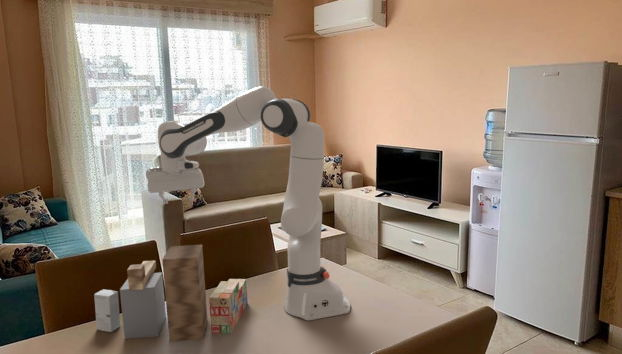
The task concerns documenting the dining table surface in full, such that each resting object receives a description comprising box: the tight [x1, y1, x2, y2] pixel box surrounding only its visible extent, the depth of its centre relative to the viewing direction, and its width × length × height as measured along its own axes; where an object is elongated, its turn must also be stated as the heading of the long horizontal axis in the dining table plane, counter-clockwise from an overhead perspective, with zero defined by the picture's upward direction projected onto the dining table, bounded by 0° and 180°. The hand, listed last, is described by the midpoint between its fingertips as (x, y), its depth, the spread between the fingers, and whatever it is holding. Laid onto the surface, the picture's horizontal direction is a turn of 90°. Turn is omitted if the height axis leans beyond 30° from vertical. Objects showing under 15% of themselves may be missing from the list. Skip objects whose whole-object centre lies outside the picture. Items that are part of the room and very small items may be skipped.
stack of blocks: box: [208, 278, 248, 335], centre depth 147 cm, size 21×6×12 cm, turn 174°
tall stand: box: [162, 244, 208, 343], centre depth 138 cm, size 10×12×26 cm
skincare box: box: [93, 288, 121, 333], centre depth 142 cm, size 6×4×12 cm
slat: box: [126, 260, 157, 290], centre depth 142 cm, size 4×18×6 cm, turn 7°
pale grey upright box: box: [119, 271, 167, 340], centre depth 141 cm, size 10×12×16 cm
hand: (178, 202), depth 166 cm, fingers open, 8 cm apart
